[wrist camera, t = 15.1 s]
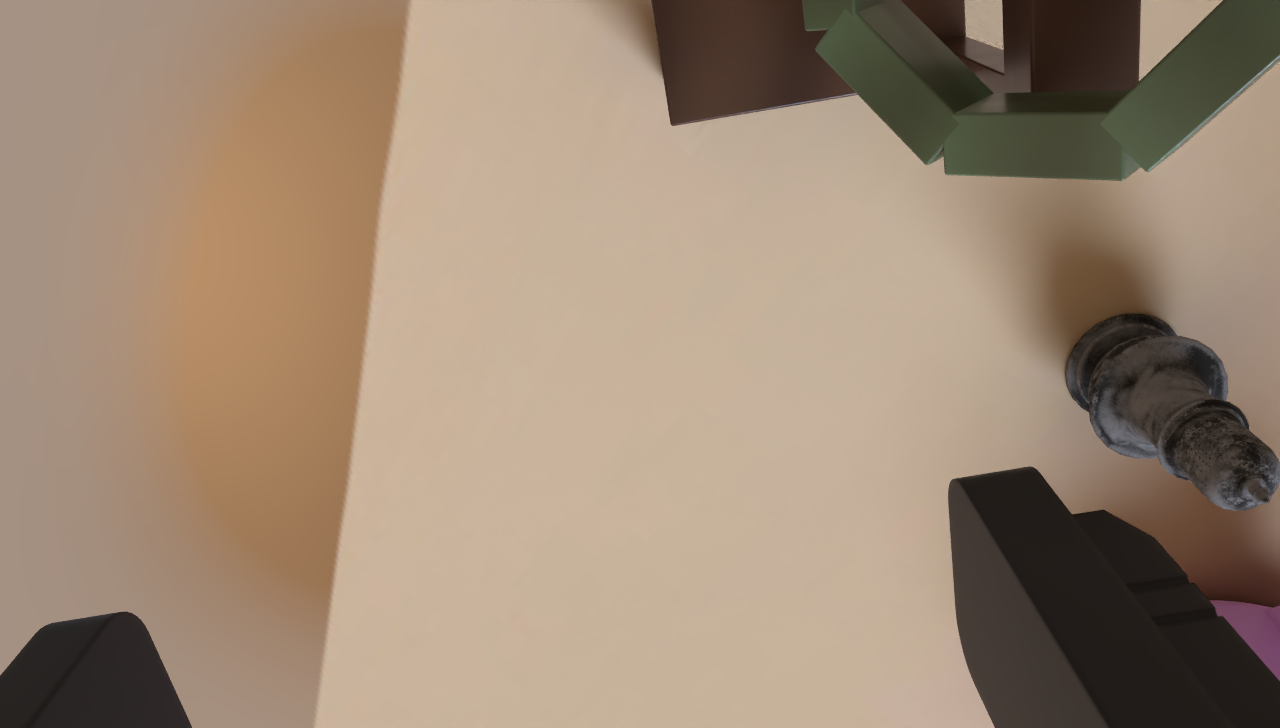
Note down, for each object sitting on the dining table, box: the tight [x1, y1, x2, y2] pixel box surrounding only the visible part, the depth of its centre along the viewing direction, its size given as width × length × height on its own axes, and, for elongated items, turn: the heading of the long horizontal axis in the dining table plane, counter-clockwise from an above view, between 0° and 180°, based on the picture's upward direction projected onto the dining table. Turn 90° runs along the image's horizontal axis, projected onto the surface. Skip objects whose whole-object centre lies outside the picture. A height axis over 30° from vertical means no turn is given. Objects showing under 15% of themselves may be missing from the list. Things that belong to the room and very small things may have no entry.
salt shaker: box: [1066, 314, 1280, 511], centre depth 42 cm, size 6×6×12 cm
